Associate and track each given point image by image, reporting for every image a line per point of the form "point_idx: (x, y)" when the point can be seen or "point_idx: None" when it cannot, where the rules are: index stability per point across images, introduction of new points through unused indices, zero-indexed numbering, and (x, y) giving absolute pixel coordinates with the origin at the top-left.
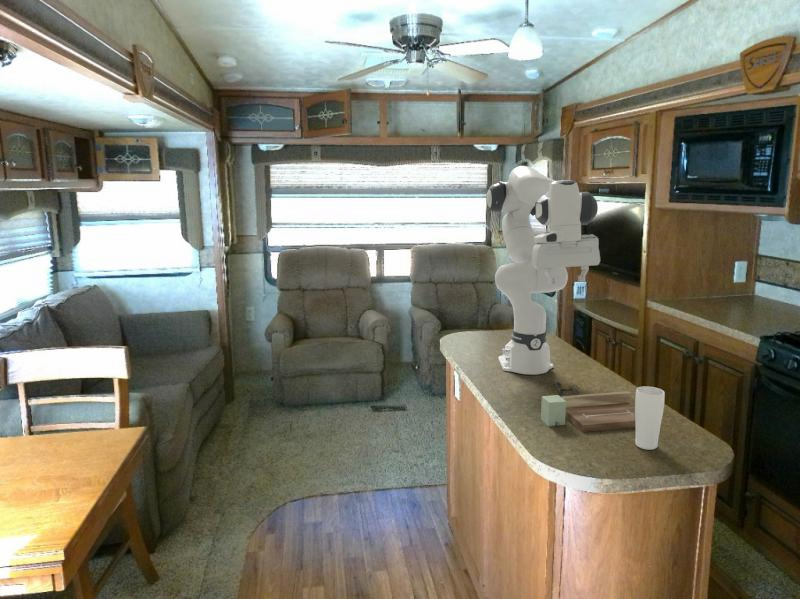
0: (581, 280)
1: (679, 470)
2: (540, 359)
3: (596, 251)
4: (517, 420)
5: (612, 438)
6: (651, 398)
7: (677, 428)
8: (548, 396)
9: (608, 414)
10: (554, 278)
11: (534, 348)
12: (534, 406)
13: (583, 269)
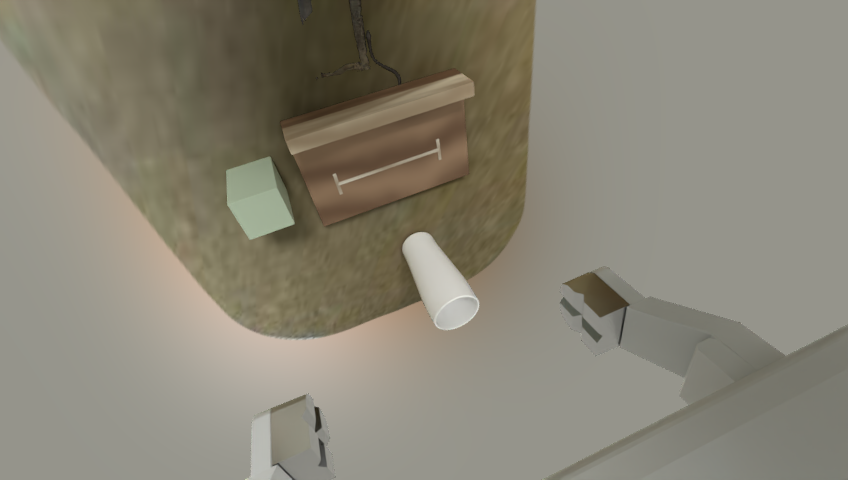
0: (573, 321)
1: None
2: None
3: None
4: (159, 187)
5: (372, 229)
6: (446, 325)
7: (496, 170)
8: (247, 202)
9: (390, 167)
10: (325, 473)
11: None
12: (198, 82)
13: (683, 382)
